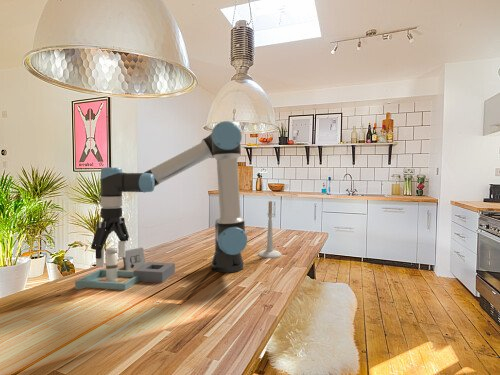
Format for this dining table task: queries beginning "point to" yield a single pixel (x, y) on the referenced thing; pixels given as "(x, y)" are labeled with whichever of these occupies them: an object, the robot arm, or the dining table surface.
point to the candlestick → (269, 239)
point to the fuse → (111, 265)
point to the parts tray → (93, 282)
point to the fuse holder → (155, 272)
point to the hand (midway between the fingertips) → (111, 261)
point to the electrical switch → (134, 258)
